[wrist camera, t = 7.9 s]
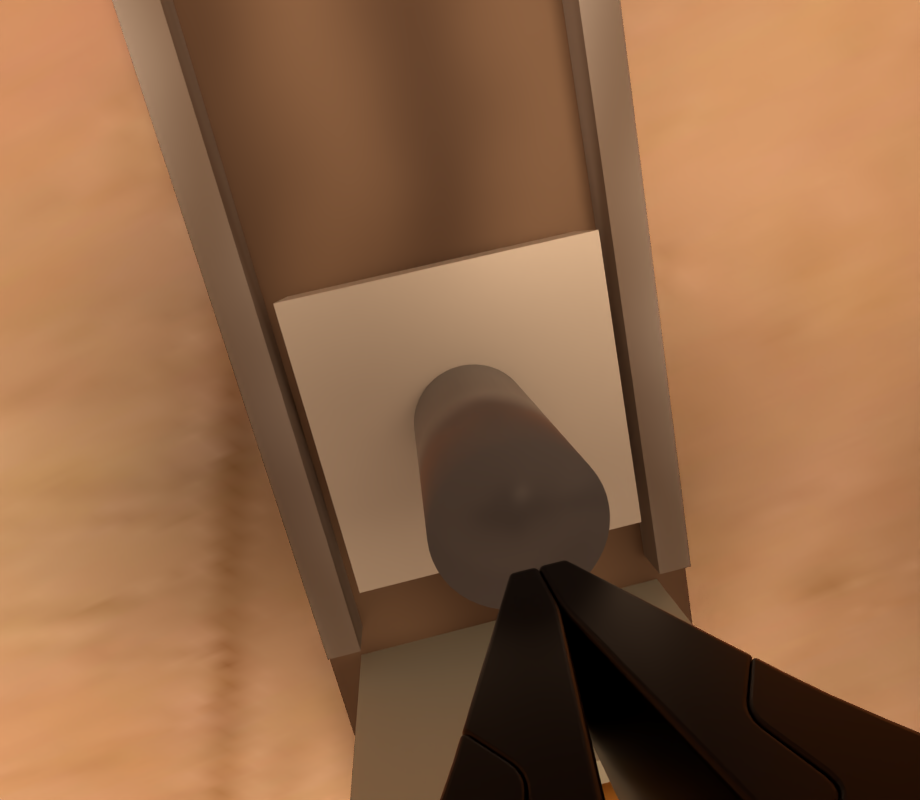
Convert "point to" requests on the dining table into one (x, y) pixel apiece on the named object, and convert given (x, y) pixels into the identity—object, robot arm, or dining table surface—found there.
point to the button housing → (429, 708)
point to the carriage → (468, 414)
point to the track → (403, 224)
